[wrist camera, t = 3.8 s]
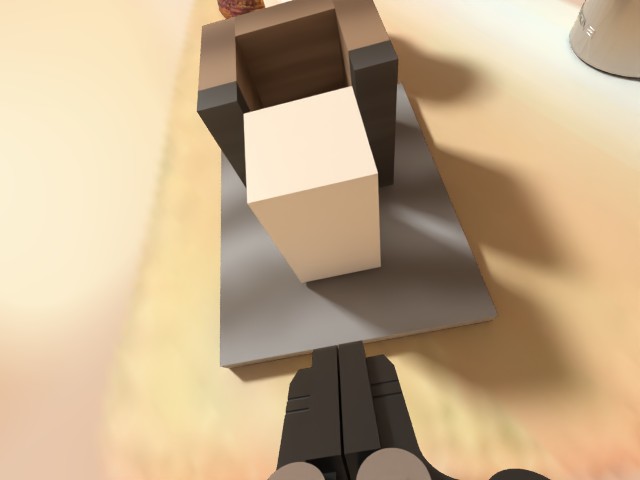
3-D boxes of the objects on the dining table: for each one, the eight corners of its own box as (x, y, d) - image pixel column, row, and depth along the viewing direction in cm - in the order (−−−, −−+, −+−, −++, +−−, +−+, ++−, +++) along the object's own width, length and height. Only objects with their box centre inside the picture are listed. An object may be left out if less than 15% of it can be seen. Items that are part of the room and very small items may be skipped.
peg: (380, 266, 20) (377, 173, 12) (301, 283, 20) (247, 203, 12) (363, 200, 22) (351, 86, 14) (293, 216, 22) (243, 113, 15)
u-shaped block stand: (491, 320, 18) (596, 236, 9) (228, 368, 20) (94, 336, 11) (400, 94, 28) (408, -57, 19) (227, 138, 29) (156, 17, 20)
